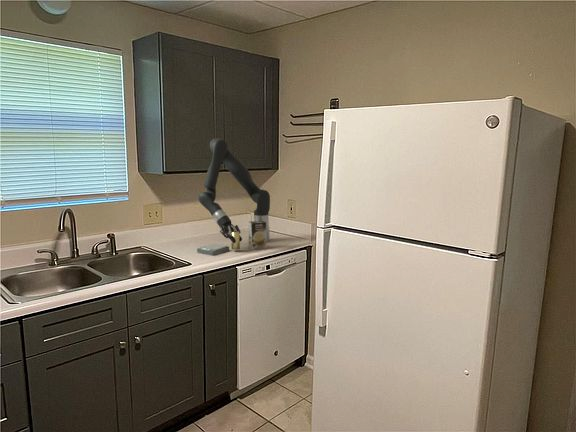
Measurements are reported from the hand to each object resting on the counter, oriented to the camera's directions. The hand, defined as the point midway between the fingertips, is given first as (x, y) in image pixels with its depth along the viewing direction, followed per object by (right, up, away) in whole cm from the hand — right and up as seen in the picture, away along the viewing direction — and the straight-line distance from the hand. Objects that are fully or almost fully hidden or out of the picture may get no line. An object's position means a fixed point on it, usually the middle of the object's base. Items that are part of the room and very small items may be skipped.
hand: (238, 241), depth 253 cm
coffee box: (+11, -5, +9) cm, 15 cm away
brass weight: (-2, -4, +2) cm, 5 cm away
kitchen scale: (-14, -6, +1) cm, 16 cm away
